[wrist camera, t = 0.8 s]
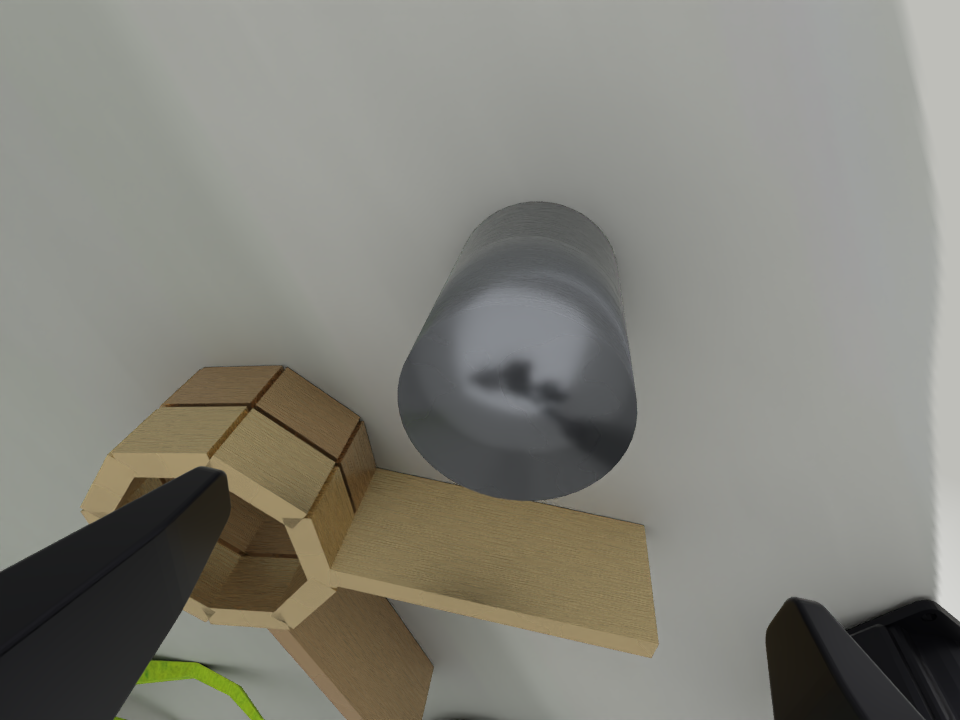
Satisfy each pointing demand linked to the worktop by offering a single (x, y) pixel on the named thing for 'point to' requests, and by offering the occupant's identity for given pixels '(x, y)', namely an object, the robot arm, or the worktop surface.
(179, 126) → the worktop surface
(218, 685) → the decorative plant
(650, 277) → the worktop surface
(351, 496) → the hinge
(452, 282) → the hinge pin
